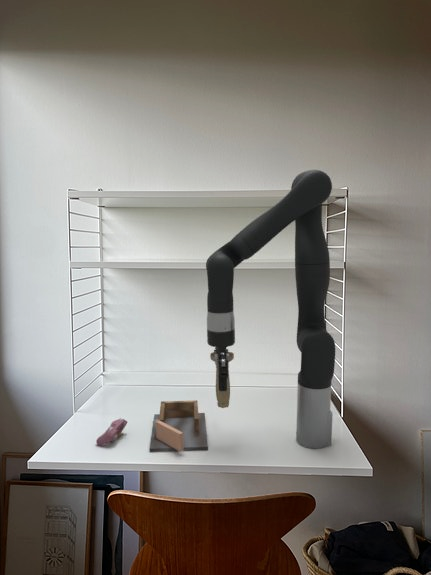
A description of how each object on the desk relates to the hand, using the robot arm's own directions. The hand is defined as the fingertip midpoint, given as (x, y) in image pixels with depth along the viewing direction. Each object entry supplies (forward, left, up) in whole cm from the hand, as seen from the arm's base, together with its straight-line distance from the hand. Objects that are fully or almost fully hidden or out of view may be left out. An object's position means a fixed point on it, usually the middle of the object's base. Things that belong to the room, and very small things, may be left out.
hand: (222, 387), depth 132 cm
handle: (0, 0, -6) cm, 6 cm away
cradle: (+12, -8, -17) cm, 22 cm away
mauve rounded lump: (+31, -5, -17) cm, 36 cm away
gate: (+15, +1, -16) cm, 22 cm away
